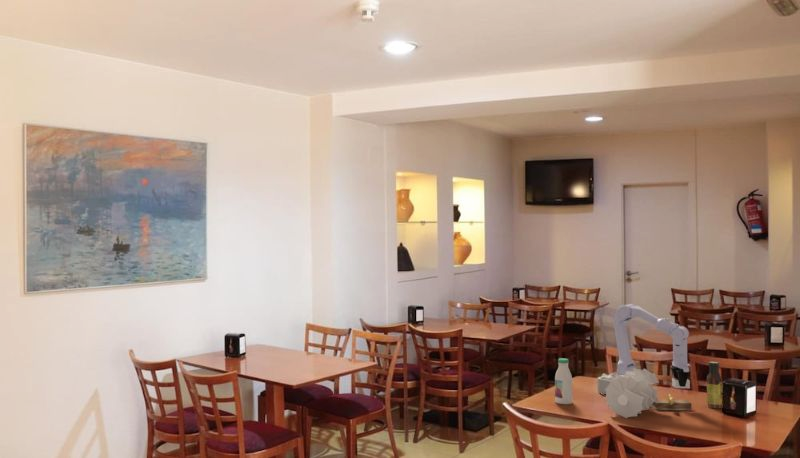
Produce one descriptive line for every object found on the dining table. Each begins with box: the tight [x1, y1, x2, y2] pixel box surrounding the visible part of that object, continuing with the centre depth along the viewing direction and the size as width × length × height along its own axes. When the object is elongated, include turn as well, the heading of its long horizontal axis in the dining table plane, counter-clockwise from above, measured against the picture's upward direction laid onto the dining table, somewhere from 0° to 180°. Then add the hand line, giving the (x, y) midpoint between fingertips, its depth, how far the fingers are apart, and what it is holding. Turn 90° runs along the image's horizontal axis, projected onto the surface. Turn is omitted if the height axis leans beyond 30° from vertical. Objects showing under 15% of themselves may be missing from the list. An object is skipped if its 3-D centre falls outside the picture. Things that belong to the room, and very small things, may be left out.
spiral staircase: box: [605, 368, 660, 419], centre depth 279 cm, size 18×18×25 cm
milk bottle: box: [554, 357, 573, 405], centre depth 296 cm, size 8×8×20 cm
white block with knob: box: [671, 377, 691, 389], centre depth 285 cm, size 6×4×4 cm
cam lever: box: [667, 393, 675, 405], centre depth 282 cm, size 8×2×2 cm, turn 161°
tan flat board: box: [652, 398, 693, 411], centre depth 285 cm, size 16×6×3 cm, turn 87°
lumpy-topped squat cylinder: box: [597, 373, 617, 395], centre depth 315 cm, size 10×13×9 cm
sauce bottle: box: [706, 361, 723, 409], centre depth 286 cm, size 7×6×20 cm
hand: (680, 385), depth 285 cm, fingers closed on white block with knob, 4 cm apart
